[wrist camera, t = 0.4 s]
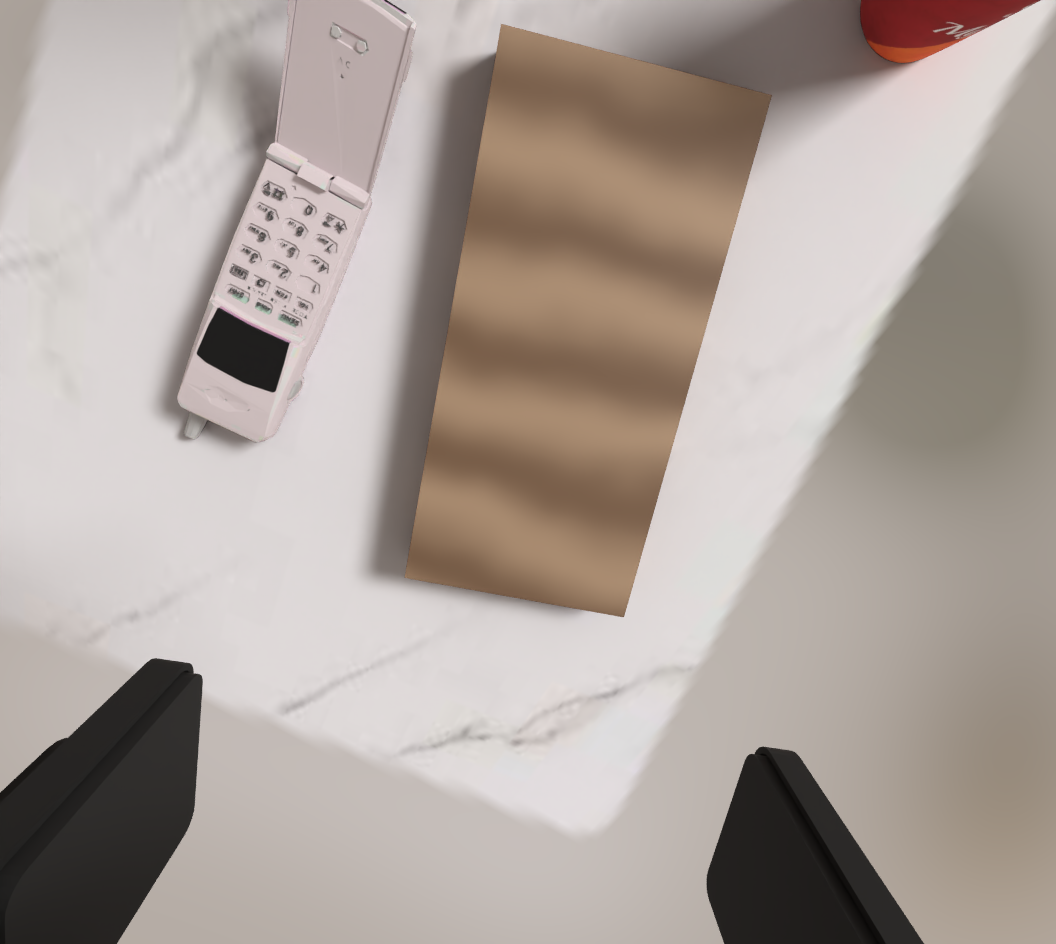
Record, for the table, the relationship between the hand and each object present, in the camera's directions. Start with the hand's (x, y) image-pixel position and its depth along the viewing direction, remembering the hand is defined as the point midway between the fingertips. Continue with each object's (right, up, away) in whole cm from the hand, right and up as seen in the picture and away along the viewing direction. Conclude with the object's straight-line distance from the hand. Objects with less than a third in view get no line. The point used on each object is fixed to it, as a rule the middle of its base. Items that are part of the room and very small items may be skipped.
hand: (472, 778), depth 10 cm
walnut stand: (+3, +12, +26) cm, 29 cm away
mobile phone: (-12, +18, +25) cm, 33 cm away
